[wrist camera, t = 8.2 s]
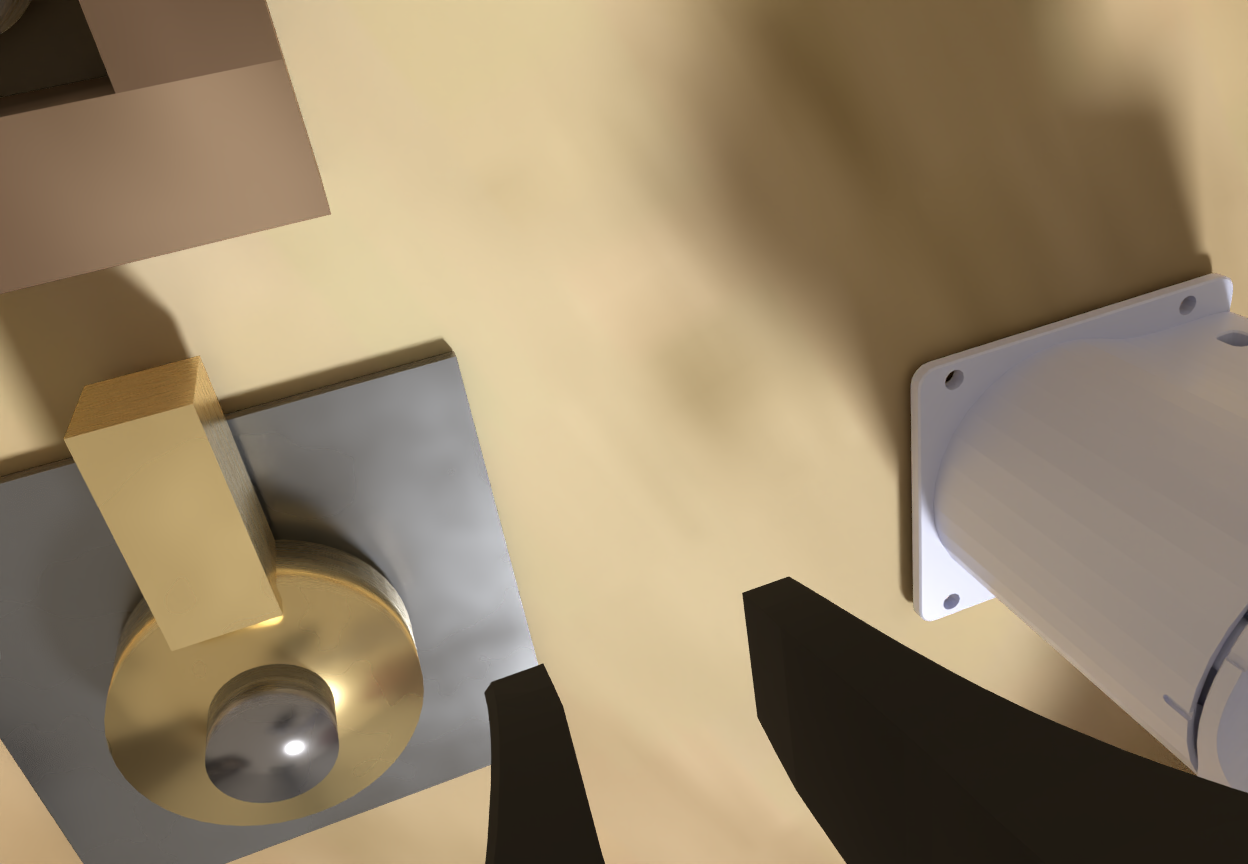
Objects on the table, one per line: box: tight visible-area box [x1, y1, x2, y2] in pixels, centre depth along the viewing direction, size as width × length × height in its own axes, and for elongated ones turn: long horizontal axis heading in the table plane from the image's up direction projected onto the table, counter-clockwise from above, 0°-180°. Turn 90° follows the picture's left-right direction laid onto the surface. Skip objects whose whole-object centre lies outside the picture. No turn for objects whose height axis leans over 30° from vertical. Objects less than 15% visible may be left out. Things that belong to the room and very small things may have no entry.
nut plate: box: [0, 351, 538, 864], centre depth 21 cm, size 11×11×1 cm
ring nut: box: [64, 356, 424, 826], centre depth 19 cm, size 6×10×3 cm, turn 9°
